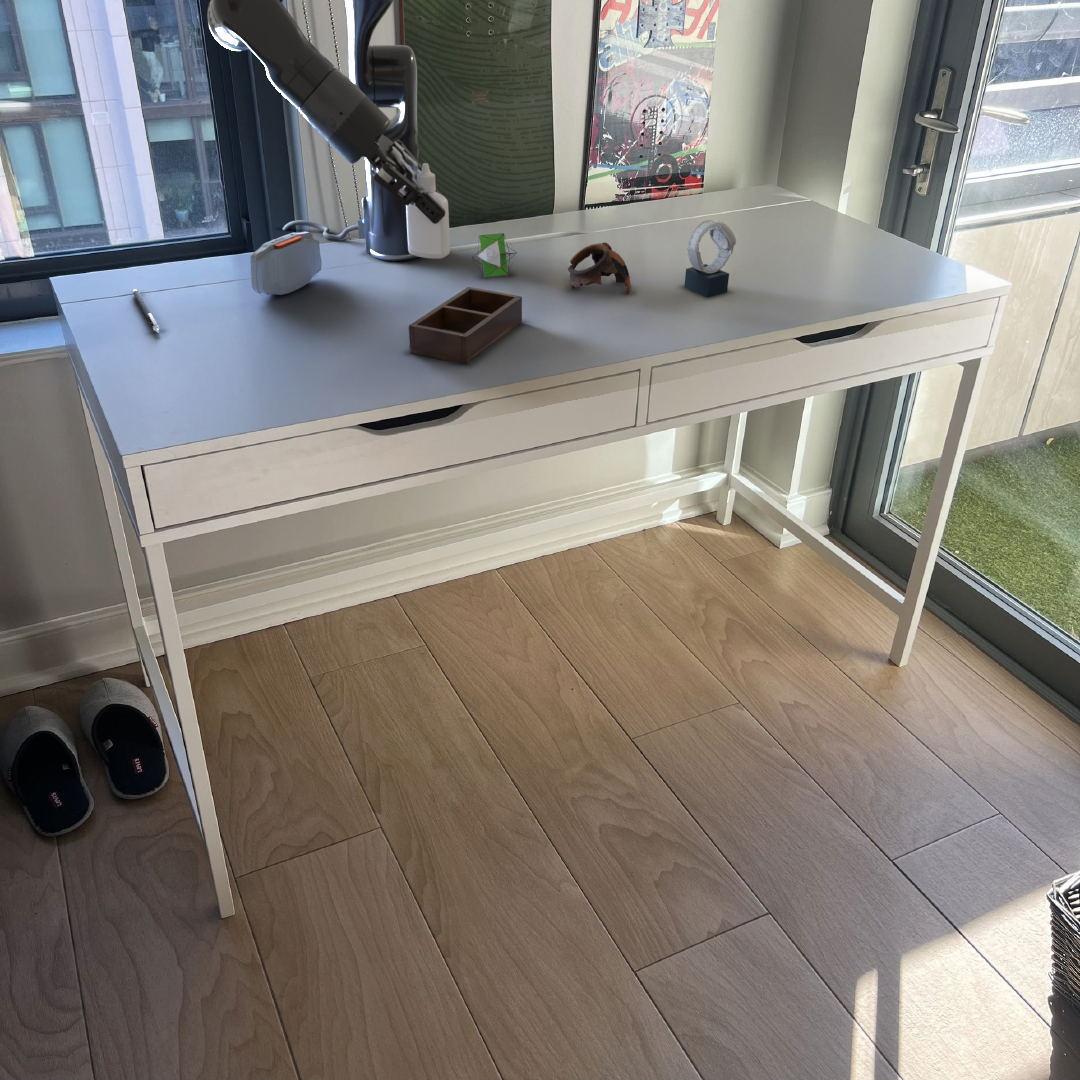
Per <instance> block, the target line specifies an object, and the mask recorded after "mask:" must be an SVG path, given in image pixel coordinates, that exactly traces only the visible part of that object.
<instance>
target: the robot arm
mask: <svg viewBox="0 0 1080 1080" xmlns="http://www.w3.org/2000/svg"><path fill="white" fill-rule="evenodd" d="M283 1H284V0H210V2H209V3H208V7H207V23H208V28H209V30H210V33H211V34H212V36H213V37H214V39H215V40H216V41H217V42H218V43H219V44H220V45H221V46H223V47H224V48H226V49H229V50H231V51H236V52H242V51H247V50H250V51H251V52H252V53H253V54H254V55H255V56H256V57H257V58H258V60H260V62H261V63H262V64H263V65H264V67H265V71H266V76H267V78H268V80H269V81H270V82H271V84H272V85H273V87H275V89H276V90H277V91H278V92H279V93H281V95H282V96H283V97H284V98H285V99H287V100H288V101H289V102H290V103H291V104H292V105H293V106H294V107H295V108H296V109H297V110H298V111H299V113H300V114H301V115H302V116H303V117H304V118H305V120H306V121H307V122H308V123H309V125H310V126H312V128H313V129H314V130H315V131H316V132H317V133H318V134H319V135H321V136H322V138H324V139H325V141H326V142H327V143H329V144H330V145H331V146H332V147H333V148H334V149H335V150H336V151H337V152H338V153H339V154H340V155H341V156H342V157H343V158H344V159H345V160H347V162H348V163H350V164H356V163H357V162H359V160H361V159H362V158H363V164H364V177H365V190H366V195H365V196H364V197H362V199H361V207H362V218H359V219H358V220H357V223H356V224H353V225H349V226H347V227H345V228H344V229H343V231H342V232H341V233H339V234H331V233H330V232H331V229H330V228H329V227H328V226H326V225H323V224H320V223H317V222H314V221H310V220H304V219H302V220H301V219H299V220H298V219H297V220H292V221H290V222H288V223H286V224H285V225H284V226H283V227H282V230H283V231H289V230H290V229H291V228H292V227H296V226H305V227H306V226H307V227H310V228H314V229H317V230H320V231H323V232H322V236H323V237H324V238H325V239H328V240H333V241H341V240H343V239H345V238H346V237H347V235H348V234H349V233H350V232H353V231H357V232H358V239H363V240H364V243H365V244H364V245H365V253H366V254H369V255H370V256H372V257H373V258H376V259H380V260H383V261H396V262H397V261H409V260H413V259H416V258H419V256H415V255H412V254H410V253H409V251H408V236H407V215H406V205H407V206H408V205H409V204H411V205H414V204H415V206H416V207H417V208H418V209H419V210H420V211H421V212H422V213H423V214H424V215H425V216H426V217H427V218H428V219H429V220H430V221H431V222H432V223H434V224H437V223H438V222H439V221H440V220H441V219H442V218H443V217H444V216H445V213H446V212H445V210H444V209H443V208H442V207H441V206H440V205H439V204H438V203H437V202H436V201H435V200H434V199H433V198H432V197H431V196H430V195H429V194H428V193H427V192H426V191H425V189H424V188H423V187H422V186H421V185H420V184H419V182H418V181H417V174H419V173H421V171H422V166H423V165H422V164H421V161H420V144H419V143H420V142H419V129H418V67H417V66H418V65H417V60H416V59H417V58H416V55H415V53H414V50H413V49H412V47H410V46H409V45H405V44H404V45H403V44H370V42H371V39H372V36H373V34H374V32H375V30H376V28H377V26H378V24H379V23H380V22H381V20H382V18H383V17H384V16H385V15H386V13H387V12H388V10H389V9H390V8H391V7H392V4H394V2H395V0H343V5H344V14H345V27H346V28H345V29H346V32H345V33H346V53H347V54H346V56H347V75H345V74H344V73H342V72H341V71H340V69H338V68H337V67H335V65H334V64H333V63H332V62H331V61H330V60H329V59H328V58H327V57H326V56H325V55H324V54H323V53H322V52H321V51H320V50H319V49H318V48H317V47H316V46H315V45H314V44H312V42H310V41H309V39H308V38H307V37H306V36H305V34H304V33H303V31H302V29H301V28H300V26H299V25H298V23H297V22H296V20H295V19H294V17H293V16H292V14H291V13H290V12H289V11H288V9H287V8H286V7H285V5H284V4H283ZM395 108H396V109H397V112H396V114H394V116H393V117H392V118H391V119H390V118H389V117H388V116H387V115H386V114H385V112H383V111H382V110H381V109H395ZM435 192H437V193H439V194H441V195H442V196H444V195H443V194H442V193H441V192H440V191H439V190H438V189H437V188H436V190H435ZM447 201H448V202H449V200H448V199H447Z"/></svg>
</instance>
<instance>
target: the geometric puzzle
mask: <svg viewBox="0 0 1080 1080" xmlns="http://www.w3.org/2000/svg"><path fill="white" fill-rule="evenodd" d="M506 238H507V237H506V235H505V232H500V233H491V234H479V235H478V239H477V240H479V243H478V245H475V248H474V251H473V253H472V254H473V255H472V256H471V257H470V259H472V261H473V262H474V264H475V266H476V267H477V269H478V270H479V271H480V273H481V274H482V276H483V278H490V277H499V276H509V273H510V270H511V267H510V266H508V262H510V259H511V258H513V257H516V255H517V254H518V252H517V251H515V249H512V248H511V247H508V242H509V243H510V245H512V244H511V242H510V241H509V239H508V238H507V240H508V242H507V240H506ZM505 243H506V244H505ZM476 246H477V248H479V246H480V250H477V252H476V253H475V254H474V252H475V250H476ZM506 247H507V250H506ZM510 250H512V252H510ZM507 251H508V252H507ZM479 252H480V253H479ZM476 258H477V260H476ZM507 258H508V259H507ZM479 259H481V262H480V260H479ZM475 261H476V262H477V263H479V265H480V269H481V270H480V269H479V267H478V265H477V264H476V262H475ZM513 263H514V262H512V263H511V265H513Z"/></svg>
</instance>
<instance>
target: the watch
mask: <svg viewBox="0 0 1080 1080" xmlns="http://www.w3.org/2000/svg"><path fill="white" fill-rule="evenodd" d="M706 233H708V235H709V236H710V239H711V240H712V242H713V243H714V244H715V246H716V249H717V250H718V253H717V255H716V256H715V259H714V260H713V261H712V263H710V264H707V263H703V259H702V255H701V252H700V242H701V241H702V238H703V237H704V236H705V234H706ZM736 244H737V239H736V236H735V234H734V232H733V230H732V229H731V228H730V227H729V226H728V225H727V224H726V223H724V222H723V221H720V220H715V221H714V220H711V219H707V220H704V221H702V222H700V223H699V224H697V226H695V228H694V229H693V230H692V233H691V235H690V237H689V240H688V244H687V245H688V247H687V255H688V259H689V262H690V264H691V267H688V268H685V274H684V287H683V288H685V289H686V290H689V291H691V292H693V293H695V294H698V295H700V296H702V297H705V298H711V297H715V296H718V295H719V296H720V295H723V294H727V293H728V289H729V279H730V273H729V272H727V271H724V270H722V268H723V267H724V266H725V265H726V264H727V262H728V261H729V259H730V257H731V255H732V254H733V252H734V247H735V245H736Z"/></svg>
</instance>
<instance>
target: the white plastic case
mask: <svg viewBox="0 0 1080 1080" xmlns="http://www.w3.org/2000/svg"><path fill="white" fill-rule="evenodd" d="M322 265H323V263H322V255H321V249H320V241H319V240H318V239H314V237H313V234H312V232H310V231H300V232H290V233H287V234H285V235H282V236H280V237H278V238H275V239H271V240H270V241H267V242H265V243H263V244H262V245H261V246H260V247H259V248H258V249H257V250H256V251H255V250H254V252H253V253H252V254H251V255H250V278H251V279H250V280H251V289H252V290H253V292H255V293H256V294H260V295H261V294H264V295H268V296H269V295H279V296H282V295H285V294H286V295H287V294H289V293H292V292H295V291H297V290H299V289H301V288H302V287H304V286H306V285H307V284H309V283H311V280H312V279H313V277H314V276H315V275H317V274H318V273H320V271H321V270H322Z"/></svg>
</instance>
